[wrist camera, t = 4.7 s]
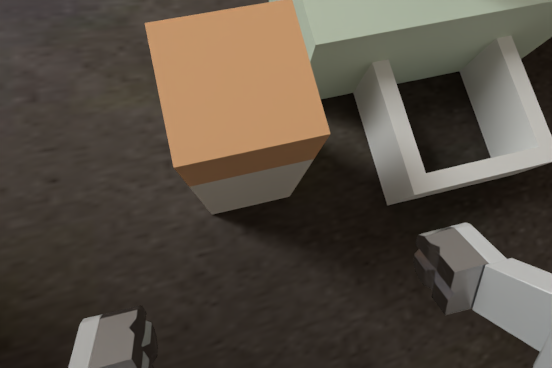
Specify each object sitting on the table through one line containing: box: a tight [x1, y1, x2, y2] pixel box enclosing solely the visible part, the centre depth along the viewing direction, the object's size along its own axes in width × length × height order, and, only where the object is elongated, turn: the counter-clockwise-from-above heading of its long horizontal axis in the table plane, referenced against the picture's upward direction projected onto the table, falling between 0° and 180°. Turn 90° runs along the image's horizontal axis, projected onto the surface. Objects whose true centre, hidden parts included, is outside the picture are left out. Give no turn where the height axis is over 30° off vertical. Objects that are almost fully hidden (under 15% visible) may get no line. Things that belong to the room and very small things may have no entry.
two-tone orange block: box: [145, 0, 330, 215], centre depth 18 cm, size 5×5×12 cm
